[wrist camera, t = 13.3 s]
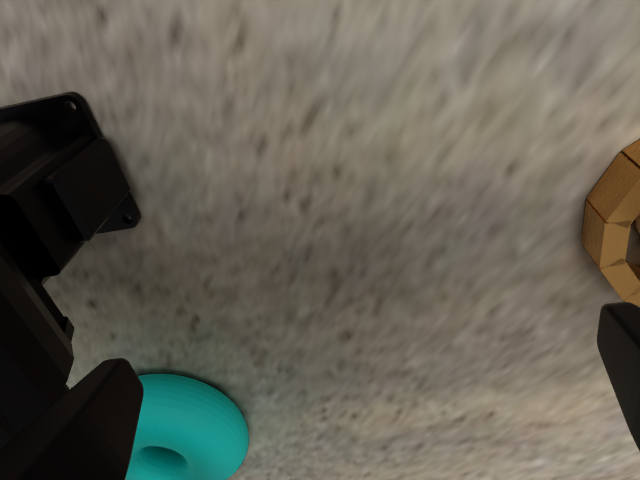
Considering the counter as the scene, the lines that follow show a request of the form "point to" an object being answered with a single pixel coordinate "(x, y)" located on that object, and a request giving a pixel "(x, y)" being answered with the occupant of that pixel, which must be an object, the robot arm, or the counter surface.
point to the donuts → (186, 432)
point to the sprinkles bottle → (638, 223)
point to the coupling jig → (615, 222)
